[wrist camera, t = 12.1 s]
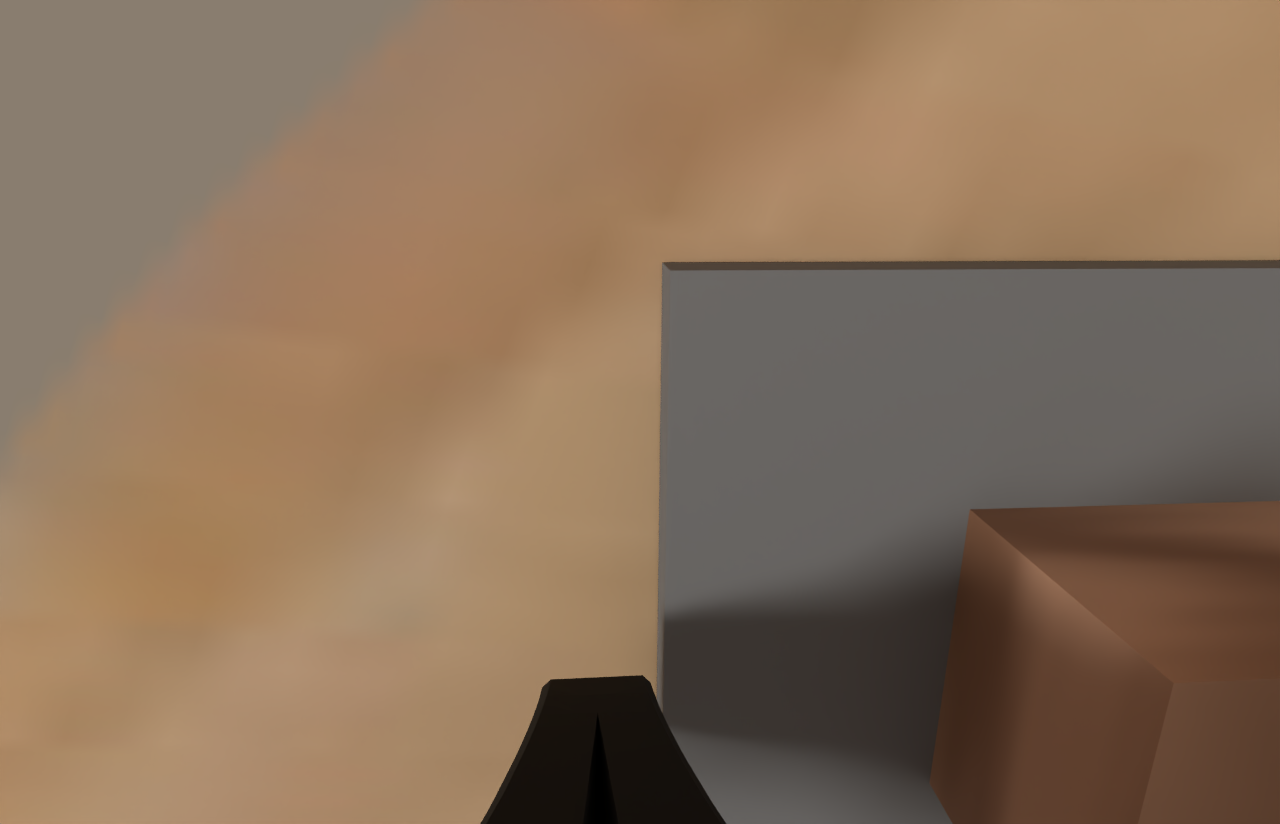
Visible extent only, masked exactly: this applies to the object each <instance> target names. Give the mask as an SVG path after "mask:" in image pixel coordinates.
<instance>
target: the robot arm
mask: <svg viewBox="0 0 1280 824" xmlns="http://www.w3.org/2000/svg"><path fill="white" fill-rule="evenodd" d="M481 824H726V822H725V821H724V819H723V818H722V816H721V815H720V813H719V812H718V810H717V809H716V807H715V806H714V804H713V803H712V801H711V799H710V798H709V796H708V794H707V793H706V791H705V790H704V788H703V786H702V785H701V783H700V781H699V780H698V778H697V776H696V775H695V773H694V771H693V770H692V768H691V766H690V765H689V763H688V761H687V760H686V758H685V756H684V754H683V752H682V751H681V749H680V747H679V745H678V743H677V741H676V739H675V737H674V736H673V734H672V732H671V730H670V728H669V726H668V724H667V722H666V720H665V718H664V715H663V713H662V711H661V709H660V707H659V704H658V702H657V699H656V697H655V694H654V692H653V689H652V686H651V683H650V682H649V681H648V680H647V679H646V678H645V677H644V676H643V675H641V676H619V677H597V678H575V679H553V680H550V681H549V682H548V683H547V684H546V685H544V686H543V687H542V691H541V695H540V698H539V702H538V704H537V707H536V710H535V713H534V716H533V718H532V721H531V723H530V726H529V728H528V731H527V733H526V735H525V737H524V740H523V742H522V744H521V746H520V749H519V751H518V753H517V755H516V757H515V759H514V761H513V763H512V765H511V767H510V769H509V771H508V773H507V775H506V777H505V779H504V781H503V783H502V785H501V787H500V789H499V791H498V793H497V795H496V797H495V799H494V801H493V802H492V804H491V806H490V808H489V810H488V812H487V813H486V815H485V817H484V819H483V820H482V822H481Z"/></svg>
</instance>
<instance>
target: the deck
mask: <svg viewBox="0 0 1280 824" xmlns="http://www.w3.org/2000/svg"><path fill="white" fill-rule="evenodd" d="M1258 501H1280V261H973V262H662V339H661V415H660V492H659V569H658V645H657V702H658V704H659V707H660V709H661V711H662V713H663V715H664V718H665V720H666V722H667V724H668V726H669V728H670V730H671V732H672V734H673V736H674V737H675V739H676V741H677V743H678V745H679V747H680V749H681V751H682V752H683V754H684V756H685V758H686V760H687V761H688V763H689V765H690V766H691V768H692V770H693V771H694V773H695V775H696V776H697V778H698V780H699V781H700V783H701V785H702V786H703V788H704V790H705V791H706V793H707V794H708V796H709V798H710V799H711V801H712V803H713V804H714V806H715V807H716V809H717V810H718V812H719V813H720V815H721V816H722V818H723V819H724V821H725V822H726V824H953V823H952V822H951V820H950V818H949V816H948V815H947V813H946V811H945V809H944V808H943V806H942V804H941V802H940V801H939V799H938V797H937V796H936V794H935V792H934V790H933V789H932V787H931V785H930V776H931V769H932V762H933V755H934V749H935V742H936V735H937V728H938V722H939V715H940V708H941V701H942V694H943V688H944V681H945V674H946V667H947V660H948V654H949V647H950V640H951V633H952V627H953V620H954V613H955V606H956V599H957V593H958V586H959V579H960V572H961V566H962V559H963V552H964V545H965V538H966V532H967V525H968V518H969V511H970V509H1000V508H1037V507H1074V506H1110V505H1147V504H1184V503H1221V502H1258Z"/></svg>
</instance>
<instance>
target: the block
mask: <svg viewBox="0 0 1280 824" xmlns="http://www.w3.org/2000/svg"><path fill="white" fill-rule="evenodd" d="M930 785H931V787H932V789H933V790H934V792H935V794H936V796H937V797H938V799H939V801H940V802H941V804H942V806H943V808H944V809H945V811H946V813H947V815H948V816H949V818H950V820H951V822H952V823H953V824H1280V501H1258V502H1221V503H1184V504H1147V505H1110V506H1074V507H1037V508H1000V509H970V511H969V518H968V525H967V532H966V538H965V545H964V552H963V559H962V566H961V572H960V579H959V586H958V593H957V599H956V606H955V613H954V620H953V627H952V633H951V640H950V647H949V654H948V660H947V667H946V674H945V681H944V688H943V694H942V701H941V708H940V715H939V722H938V728H937V735H936V742H935V749H934V755H933V762H932V769H931V776H930Z"/></svg>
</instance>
